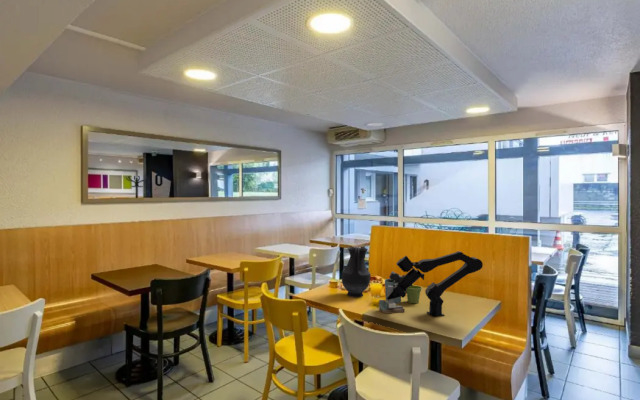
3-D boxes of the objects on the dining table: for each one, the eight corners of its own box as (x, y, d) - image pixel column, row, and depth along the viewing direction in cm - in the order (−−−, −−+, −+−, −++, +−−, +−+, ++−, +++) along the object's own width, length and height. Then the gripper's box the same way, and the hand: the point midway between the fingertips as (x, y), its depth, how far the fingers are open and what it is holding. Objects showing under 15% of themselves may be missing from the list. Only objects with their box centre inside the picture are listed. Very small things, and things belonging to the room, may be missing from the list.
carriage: (391, 304, 193) (392, 285, 193) (395, 307, 188) (396, 287, 188) (384, 305, 192) (385, 285, 192) (388, 307, 187) (389, 287, 187)
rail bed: (400, 309, 194) (400, 297, 194) (404, 312, 189) (404, 300, 189) (379, 310, 191) (379, 298, 191) (383, 313, 186) (383, 301, 186)
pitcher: (369, 292, 228) (370, 244, 228) (370, 301, 207) (372, 248, 207) (341, 291, 230) (342, 243, 230) (340, 299, 209) (341, 247, 209)
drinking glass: (404, 300, 211) (405, 280, 211) (398, 305, 202) (399, 283, 202) (387, 298, 216) (388, 277, 216) (381, 302, 207) (382, 280, 207)
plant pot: (402, 302, 207) (403, 287, 207) (407, 298, 215) (407, 284, 215) (419, 305, 202) (419, 289, 202) (423, 301, 211) (423, 286, 211)
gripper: (398, 263, 198) (377, 282, 200) (399, 270, 180) (376, 290, 182) (412, 279, 197) (391, 298, 199) (415, 287, 179) (392, 308, 181)
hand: (387, 298), depth 190 cm, fingers closed on carriage, 3 cm apart
